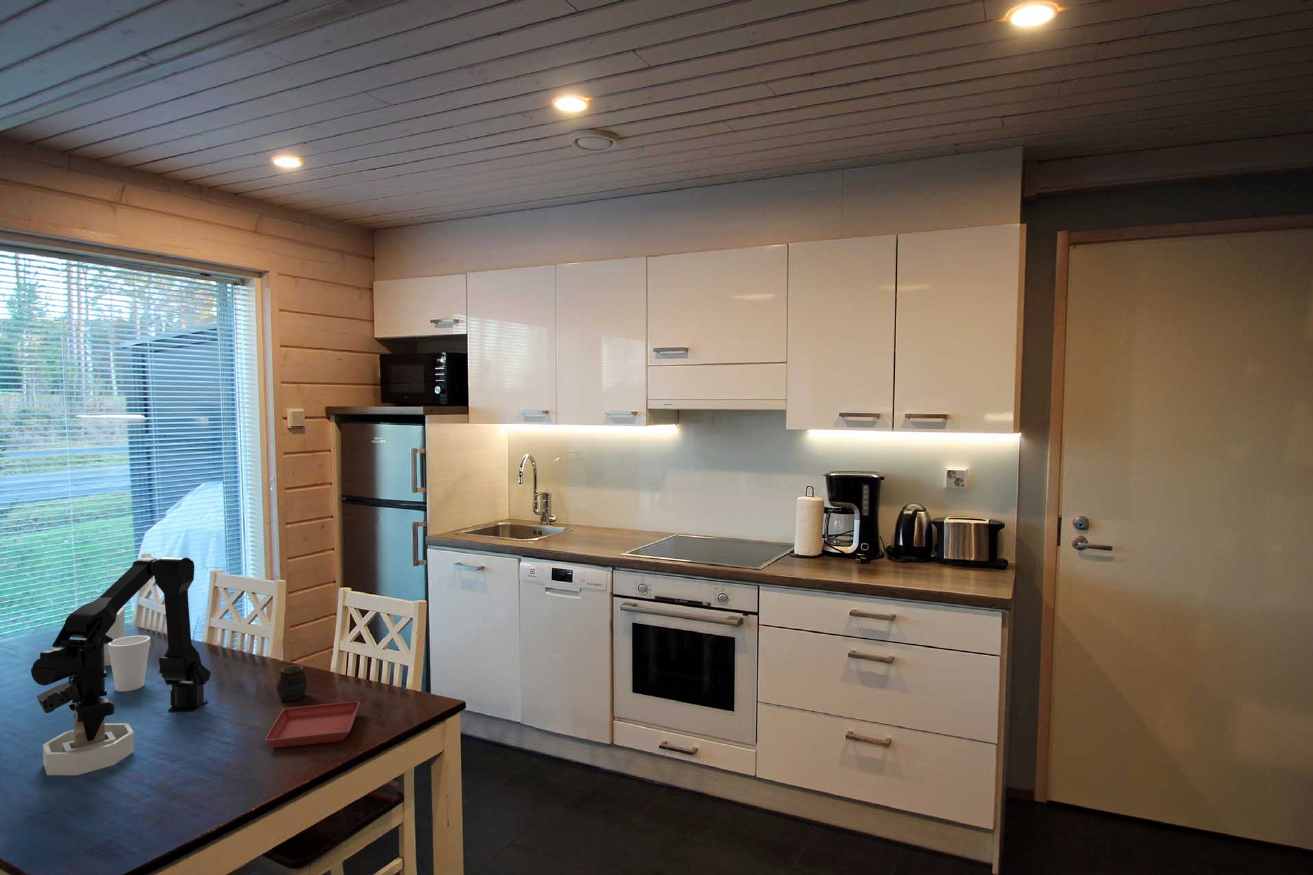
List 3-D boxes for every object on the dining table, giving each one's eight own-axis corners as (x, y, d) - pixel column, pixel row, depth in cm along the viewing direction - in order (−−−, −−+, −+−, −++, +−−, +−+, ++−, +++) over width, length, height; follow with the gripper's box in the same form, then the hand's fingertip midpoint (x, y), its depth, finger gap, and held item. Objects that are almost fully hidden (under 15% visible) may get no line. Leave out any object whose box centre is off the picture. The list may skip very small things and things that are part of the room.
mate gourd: (299, 690, 198) (299, 654, 198) (312, 697, 194) (312, 660, 193) (272, 697, 193) (272, 660, 192) (285, 705, 188) (285, 667, 188)
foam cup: (159, 681, 203) (158, 636, 203) (132, 694, 194) (131, 646, 194) (128, 680, 204) (127, 634, 204) (99, 692, 195) (99, 645, 195)
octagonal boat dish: (138, 758, 159) (138, 737, 159) (49, 782, 148) (49, 761, 148) (124, 736, 169) (123, 717, 169) (40, 757, 158) (40, 737, 158)
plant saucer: (263, 753, 162) (263, 739, 162) (282, 720, 180) (282, 707, 180) (350, 744, 167) (350, 730, 167) (360, 713, 184) (360, 700, 184)
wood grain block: (104, 746, 159) (104, 706, 159) (76, 753, 156) (75, 712, 156) (102, 742, 161) (102, 703, 161) (74, 750, 158) (73, 709, 157)
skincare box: (100, 658, 221) (99, 608, 221) (126, 656, 224) (126, 606, 223) (92, 667, 214) (91, 615, 213) (119, 664, 216) (119, 613, 216)
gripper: (34, 666, 159) (36, 736, 159) (46, 689, 146) (47, 765, 146) (98, 654, 167) (99, 721, 167) (114, 675, 154) (115, 747, 154)
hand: (89, 738), depth 158 cm, fingers closed on wood grain block, 2 cm apart
